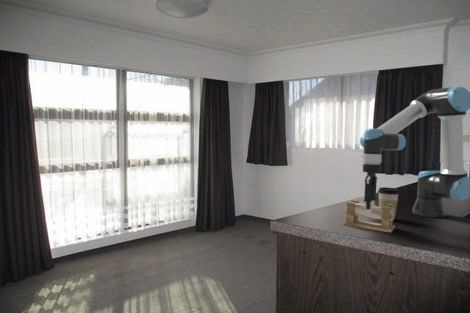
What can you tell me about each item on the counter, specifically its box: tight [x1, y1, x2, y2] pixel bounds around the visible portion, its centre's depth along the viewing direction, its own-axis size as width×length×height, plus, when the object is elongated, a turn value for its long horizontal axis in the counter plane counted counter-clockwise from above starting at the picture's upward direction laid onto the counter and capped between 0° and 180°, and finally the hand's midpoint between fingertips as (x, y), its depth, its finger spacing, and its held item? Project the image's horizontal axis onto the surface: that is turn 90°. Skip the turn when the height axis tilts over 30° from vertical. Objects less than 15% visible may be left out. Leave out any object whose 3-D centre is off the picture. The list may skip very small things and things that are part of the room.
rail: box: [344, 202, 395, 222], centre depth 164 cm, size 4×20×5 cm, turn 57°
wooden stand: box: [343, 199, 395, 233], centre depth 164 cm, size 9×20×10 cm, turn 57°
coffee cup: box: [377, 186, 401, 218], centre depth 179 cm, size 10×10×15 cm
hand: (369, 215), depth 164 cm, fingers closed on rail, 4 cm apart
